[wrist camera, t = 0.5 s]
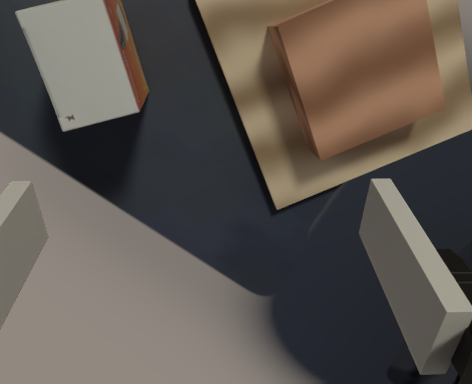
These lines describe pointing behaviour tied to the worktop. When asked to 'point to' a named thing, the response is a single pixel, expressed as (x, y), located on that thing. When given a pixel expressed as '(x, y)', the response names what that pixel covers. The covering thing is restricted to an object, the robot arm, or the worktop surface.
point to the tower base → (279, 113)
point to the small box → (85, 60)
